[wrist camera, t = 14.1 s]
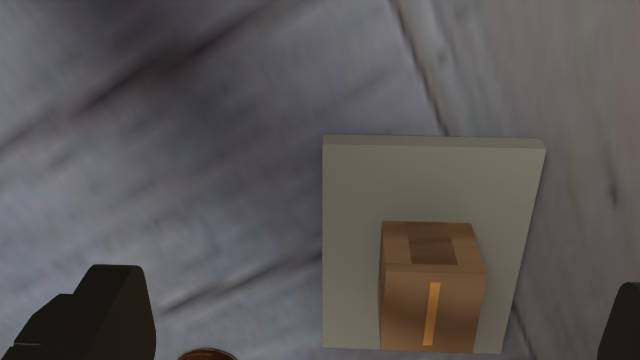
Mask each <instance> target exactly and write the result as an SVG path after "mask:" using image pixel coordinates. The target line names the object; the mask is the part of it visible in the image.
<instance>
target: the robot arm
mask: <svg viewBox="0 0 640 360" xmlns="http://www.w3.org/2000/svg"><path fill="white" fill-rule="evenodd" d="M155 350H156V330H155V325H154V320H153V315H152V310H151V305H150V300H149V295H148V290H147V285H146V280H145V276H144V272H143V270H142V268H141V267H140V266H137V265H105V264H95V265H93V266H91V267H90V268H89V270H88V271H87V273H86V274H85V276H84V277H83V279H82V280H81V282H80V284H79V285H78V287H77V288H76V290H75V291H74V293H73V294H59V295H57V296H56V297H55V298H53V299H52V300H51V301H50V302H48V303H47V304H46V305H45V306H43V307H42V308H41V309H39V310H38V311H37V312H36V313H34V314H33V315H32V316H31V317H30V319H29V320H28V322H27V323H26V325H25V326H24V328H23V329H22V330H21V332H20V333H19V335H18V336H17V338H16V339H15V340H14V345H13V347H10V348H9V349H8V350H7V352H6V353H5V355H4V356H3V358H2V359H1V360H154V356H155ZM597 360H640V283H638V282H627V283H624V284H623V285H622V286H621V287H620V289H619V291H618V293H617V296H616V299H615V302H614V304H613V307H612V310H611V313H610V316H609V319H608V322H607V325H606V328H605V330H604V333H603V336H602V339H601V342H600V345H599V348H598V354H597Z"/></svg>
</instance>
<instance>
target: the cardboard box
mask: <svg viewBox="0 0 640 360" xmlns="http://www.w3.org/2000/svg"><path fill="white" fill-rule="evenodd" d="M487 275H488V274H487V271H486V268H485V265H484V262H483V259H482V256H481V253H480V250H479V247H478V244H477V241H476V237H475V234H474V231H473V228H472V225H471V223H449V222H412V221H382V227H381V243H380V258H379V273H378V289H377V301H378V319H379V336H380V350H388V351H416V352H443V353H470V354H473V349H474V343H475V338H476V333H477V327H478V322H479V317H480V312H481V306H482V301H483V296H484V290H485V285H486V280H487Z"/></svg>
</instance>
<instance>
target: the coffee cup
mask: <svg viewBox="0 0 640 360" xmlns="http://www.w3.org/2000/svg"><path fill="white" fill-rule="evenodd" d="M178 360H236V359H235V358H234V357H232V356H231V355H230V354H228V353H225V352H222V351H219V350H215V349H208V348H202V349H196V350H192V351H188V352H186V353H184V354H183V355H182V356H180V357H179V358H178Z"/></svg>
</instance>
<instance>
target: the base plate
mask: <svg viewBox="0 0 640 360" xmlns="http://www.w3.org/2000/svg"><path fill="white" fill-rule="evenodd" d="M546 150H547V148H546V147H545V145H544V144H543V142H542V141H541V139H540V138H495V137H446V136H397V135H348V134H323V143H322V348H347V349H375V350H380V336H379V319H378V301H377V289H378V273H379V258H380V243H381V227H382V221H412V222H449V223H471V225H472V228H473V231H474V234H475V237H476V241H477V244H478V247H479V250H480V253H481V256H482V259H483V262H484V265H485V268H486V271H487V274H488V275H487V280H486V285H485V290H484V296H483V301H482V306H481V312H480V317H479V322H478V327H477V333H476V338H475V343H474V349H473V353H483V354H501V350H502V345H503V341H504V337H505V332H506V328H507V323H508V319H509V314H510V310H511V306H512V301H513V297H514V292H515V288H516V283H517V279H518V274H519V270H520V266H521V261H522V257H523V252H524V248H525V243H526V239H527V235H528V230H529V226H530V221H531V217H532V212H533V208H534V203H535V199H536V195H537V190H538V186H539V181H540V177H541V172H542V168H543V164H544V159H545V155H546Z"/></svg>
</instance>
